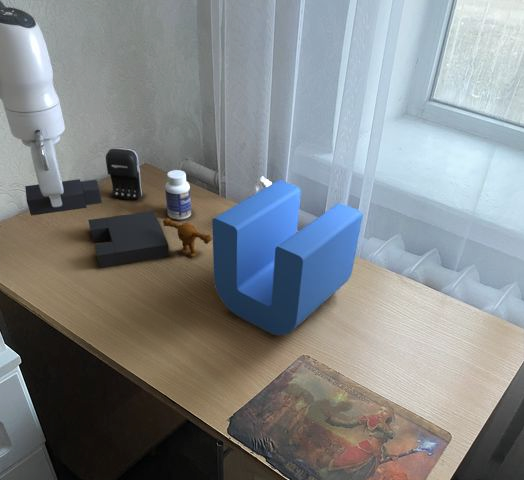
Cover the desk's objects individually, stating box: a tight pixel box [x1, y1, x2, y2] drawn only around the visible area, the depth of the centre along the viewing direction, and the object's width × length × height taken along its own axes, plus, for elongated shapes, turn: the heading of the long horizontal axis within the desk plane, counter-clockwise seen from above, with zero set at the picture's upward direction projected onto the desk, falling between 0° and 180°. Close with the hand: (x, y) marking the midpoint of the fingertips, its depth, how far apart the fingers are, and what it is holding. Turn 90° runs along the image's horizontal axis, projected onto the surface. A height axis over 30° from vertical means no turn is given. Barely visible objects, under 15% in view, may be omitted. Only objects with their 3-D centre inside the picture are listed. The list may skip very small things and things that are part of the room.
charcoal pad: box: [24, 178, 103, 216], centre depth 101 cm, size 13×6×3 cm, turn 110°
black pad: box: [88, 210, 170, 269], centre depth 111 cm, size 14×14×3 cm
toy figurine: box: [162, 217, 213, 258], centre depth 108 cm, size 12×4×7 cm, turn 56°
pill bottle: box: [164, 169, 192, 221], centre depth 119 cm, size 5×5×10 cm
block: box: [211, 179, 364, 336], centre depth 95 cm, size 18×18×18 cm
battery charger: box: [105, 146, 143, 201], centre depth 123 cm, size 7×4×11 cm, turn 82°
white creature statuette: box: [252, 175, 273, 195], centre depth 115 cm, size 10×9×12 cm
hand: (55, 195), depth 101 cm, fingers closed on charcoal pad, 6 cm apart
